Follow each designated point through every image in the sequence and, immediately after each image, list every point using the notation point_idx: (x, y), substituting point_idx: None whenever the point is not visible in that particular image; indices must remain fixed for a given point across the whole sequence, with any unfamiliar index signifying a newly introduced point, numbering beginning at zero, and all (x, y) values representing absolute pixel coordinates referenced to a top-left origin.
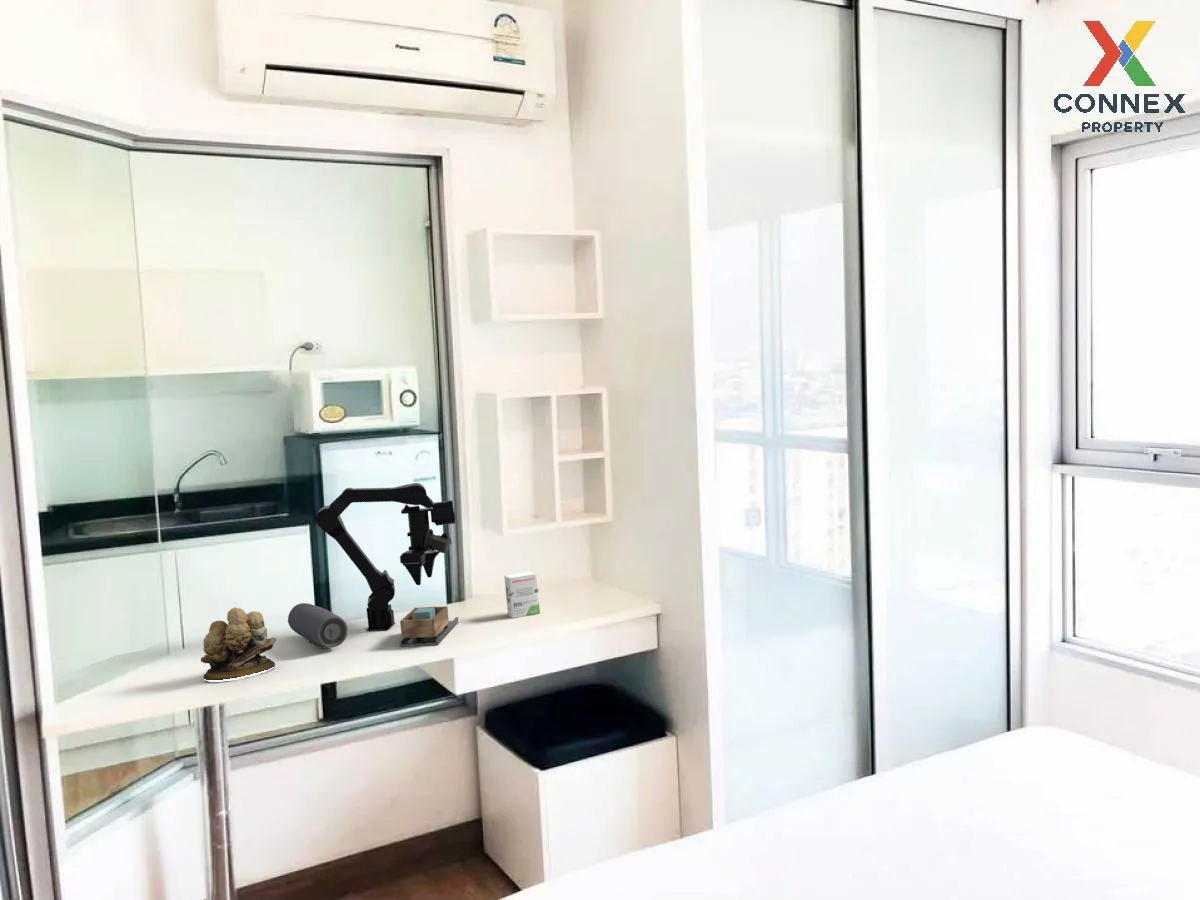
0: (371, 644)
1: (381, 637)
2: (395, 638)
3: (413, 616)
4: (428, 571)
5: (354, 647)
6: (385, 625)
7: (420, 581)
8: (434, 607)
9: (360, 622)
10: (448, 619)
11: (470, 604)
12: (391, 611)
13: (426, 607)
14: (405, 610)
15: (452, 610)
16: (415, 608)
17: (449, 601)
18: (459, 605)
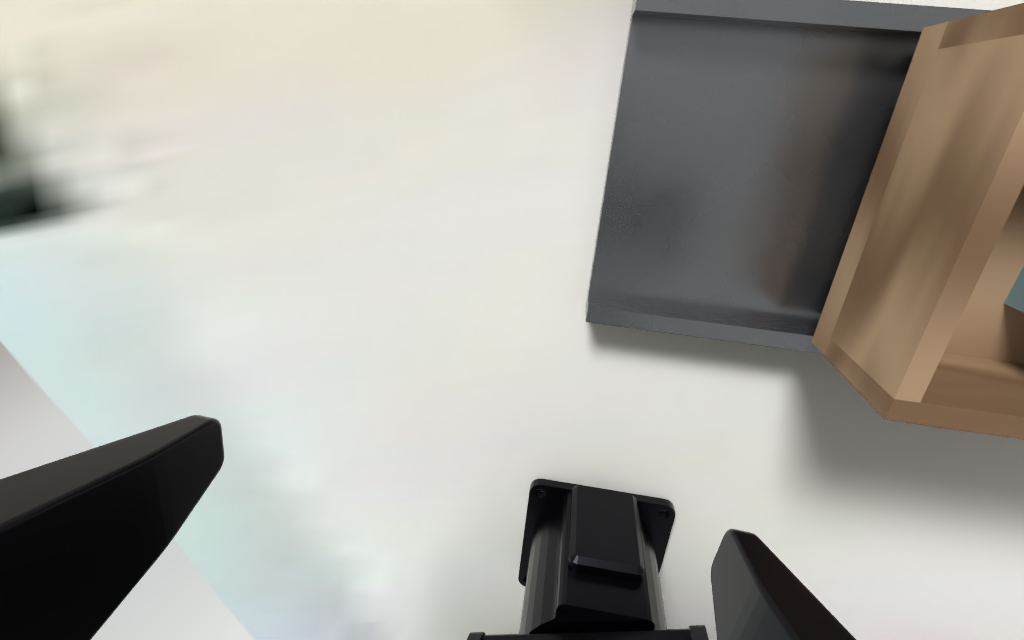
0: (972, 553)
1: (825, 517)
2: (902, 437)
3: (1018, 392)
4: (143, 516)
5: (984, 624)
6: (643, 530)
7: (781, 572)
8: (1018, 190)
9: (448, 630)
10: (945, 22)
11: (68, 4)
12: (615, 564)
13: (958, 296)
14: (233, 454)
15: (242, 138)
16: (930, 411)
17: (14, 208)
18: (105, 104)
